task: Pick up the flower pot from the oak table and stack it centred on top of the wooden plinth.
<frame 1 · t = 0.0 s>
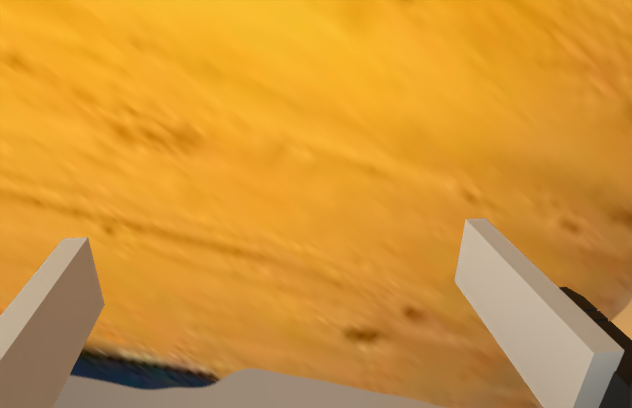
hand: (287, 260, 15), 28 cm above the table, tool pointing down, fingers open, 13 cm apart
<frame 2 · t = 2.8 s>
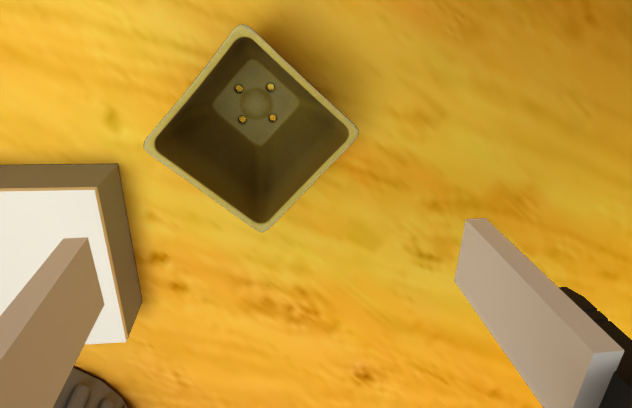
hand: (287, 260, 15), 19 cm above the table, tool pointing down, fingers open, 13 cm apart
flower pot: (255, 104, 32), on the table
plinth: (46, 240, 34), on the table
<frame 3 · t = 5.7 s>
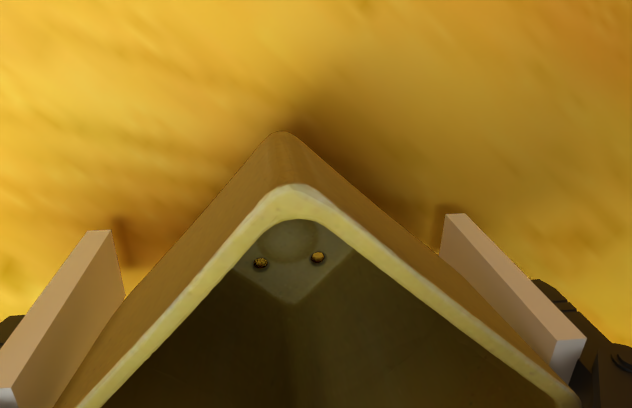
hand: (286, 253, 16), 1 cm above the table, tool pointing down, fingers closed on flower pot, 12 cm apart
flower pot: (285, 233, 17), on the table, touching gripper
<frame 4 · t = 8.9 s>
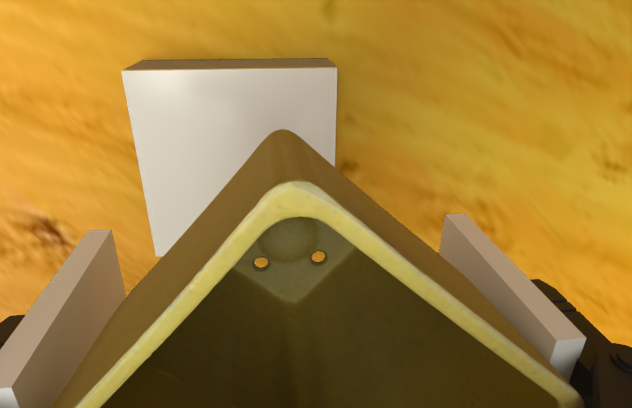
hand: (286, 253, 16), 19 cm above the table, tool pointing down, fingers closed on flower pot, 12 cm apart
flower pot: (285, 232, 17), point 18 cm above the table, touching gripper
plinth: (243, 146, 33), on the table
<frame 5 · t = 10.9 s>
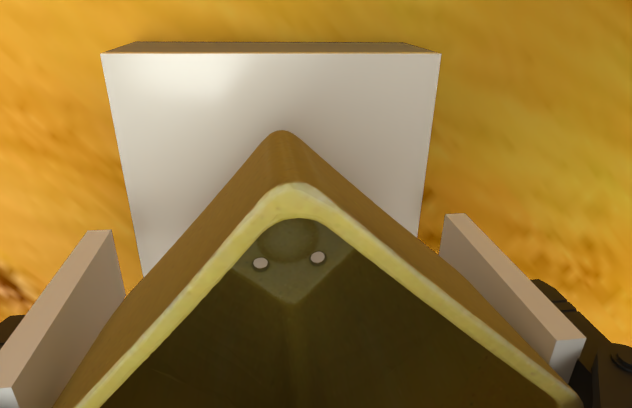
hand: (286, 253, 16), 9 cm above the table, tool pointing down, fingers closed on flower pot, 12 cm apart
flower pot: (285, 232, 17), point 7 cm above the table, touching gripper
plinth: (277, 167, 24), on the table
when the fingers open (8 cm above the table, at t = 12.3 s): flower pot drops 1 cm, resting on plinth.
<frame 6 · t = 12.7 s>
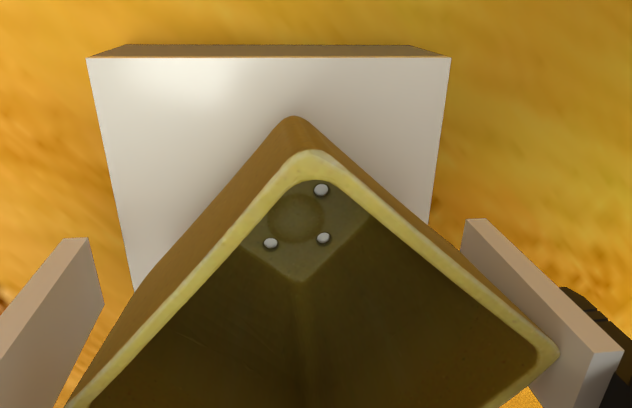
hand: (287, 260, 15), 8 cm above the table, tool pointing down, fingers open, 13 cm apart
flower pot: (293, 215, 18), point 5 cm above the table, touching gripper, plinth
plinth: (276, 175, 22), on the table
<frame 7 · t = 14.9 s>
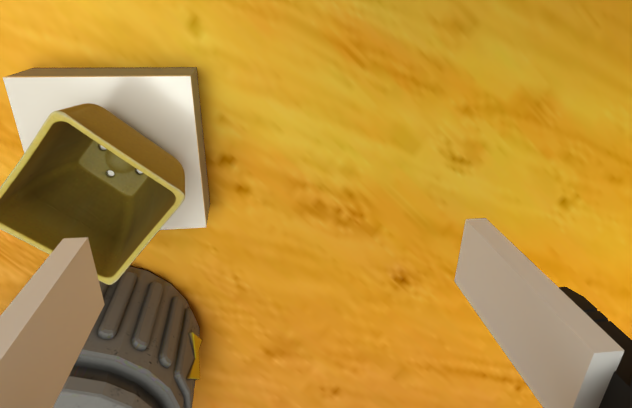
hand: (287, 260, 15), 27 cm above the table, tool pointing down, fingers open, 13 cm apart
decorative lamp: (115, 327, 47), on the table
flower pot: (122, 158, 34), point 5 cm above the table, touching plinth
plinth: (130, 142, 39), on the table
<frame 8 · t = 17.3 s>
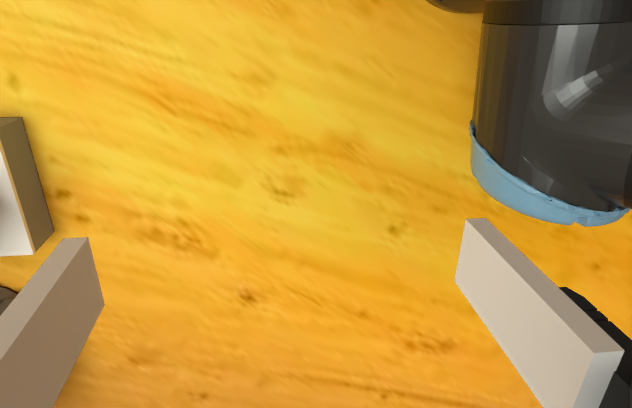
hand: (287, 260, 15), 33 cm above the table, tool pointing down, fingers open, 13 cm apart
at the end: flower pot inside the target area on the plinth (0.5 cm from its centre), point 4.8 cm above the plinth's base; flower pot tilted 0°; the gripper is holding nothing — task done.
